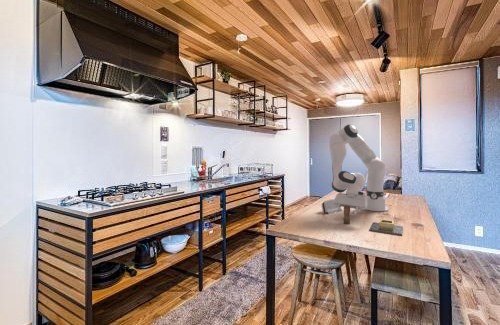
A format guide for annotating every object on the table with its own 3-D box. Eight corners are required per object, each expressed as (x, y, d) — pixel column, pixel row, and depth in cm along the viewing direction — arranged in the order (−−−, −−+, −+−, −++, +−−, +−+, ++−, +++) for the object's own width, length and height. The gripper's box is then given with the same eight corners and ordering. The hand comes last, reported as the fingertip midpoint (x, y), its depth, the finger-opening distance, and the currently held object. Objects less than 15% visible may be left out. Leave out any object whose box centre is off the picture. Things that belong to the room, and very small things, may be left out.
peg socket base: (373, 223, 161) (373, 216, 160) (403, 227, 152) (403, 220, 152) (369, 230, 147) (369, 222, 147) (402, 235, 139) (402, 227, 138)
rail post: (344, 222, 164) (344, 205, 163) (350, 223, 162) (350, 205, 161) (343, 223, 161) (343, 206, 160) (349, 224, 159) (349, 207, 158)
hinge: (328, 214, 184) (324, 200, 186) (323, 215, 188) (319, 201, 190) (342, 210, 194) (338, 197, 196) (337, 211, 198) (333, 198, 200)
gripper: (336, 189, 173) (329, 206, 167) (367, 193, 159) (361, 212, 153) (338, 195, 177) (332, 212, 170) (370, 199, 163) (364, 218, 156)
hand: (346, 212), depth 161 cm, fingers open, 8 cm apart
